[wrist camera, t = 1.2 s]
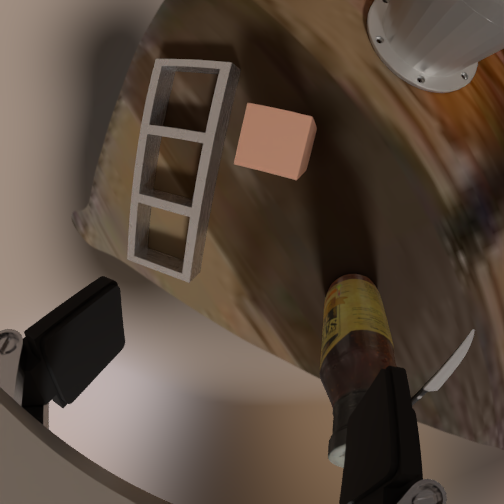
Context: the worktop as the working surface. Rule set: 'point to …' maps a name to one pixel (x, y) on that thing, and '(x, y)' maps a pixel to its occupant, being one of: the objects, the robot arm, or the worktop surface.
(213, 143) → the hole rail
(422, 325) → the worktop surface
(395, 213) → the worktop surface
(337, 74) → the worktop surface
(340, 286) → the sauce bottle
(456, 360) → the chef's knife
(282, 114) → the square peg
